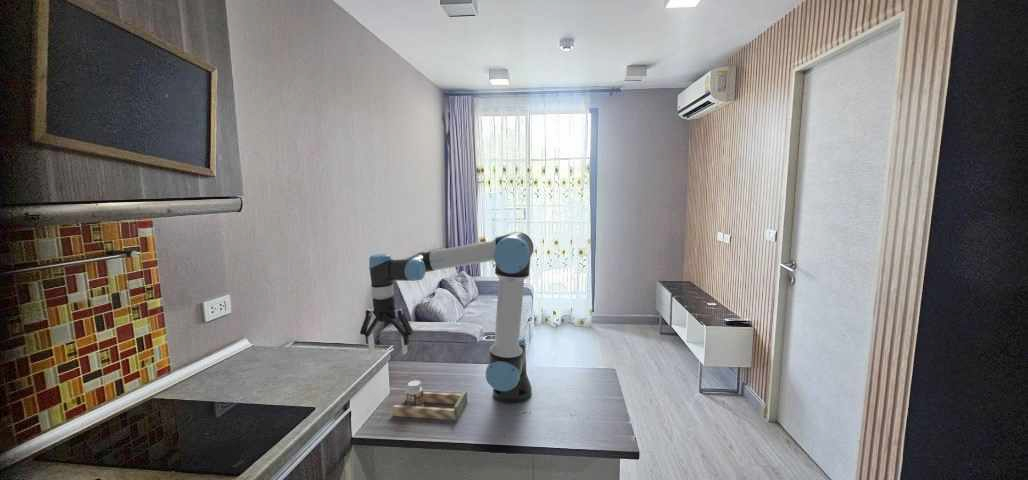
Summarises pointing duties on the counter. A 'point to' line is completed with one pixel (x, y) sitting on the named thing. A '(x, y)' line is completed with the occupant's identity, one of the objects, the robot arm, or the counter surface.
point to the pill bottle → (415, 394)
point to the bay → (432, 412)
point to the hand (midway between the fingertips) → (388, 352)
